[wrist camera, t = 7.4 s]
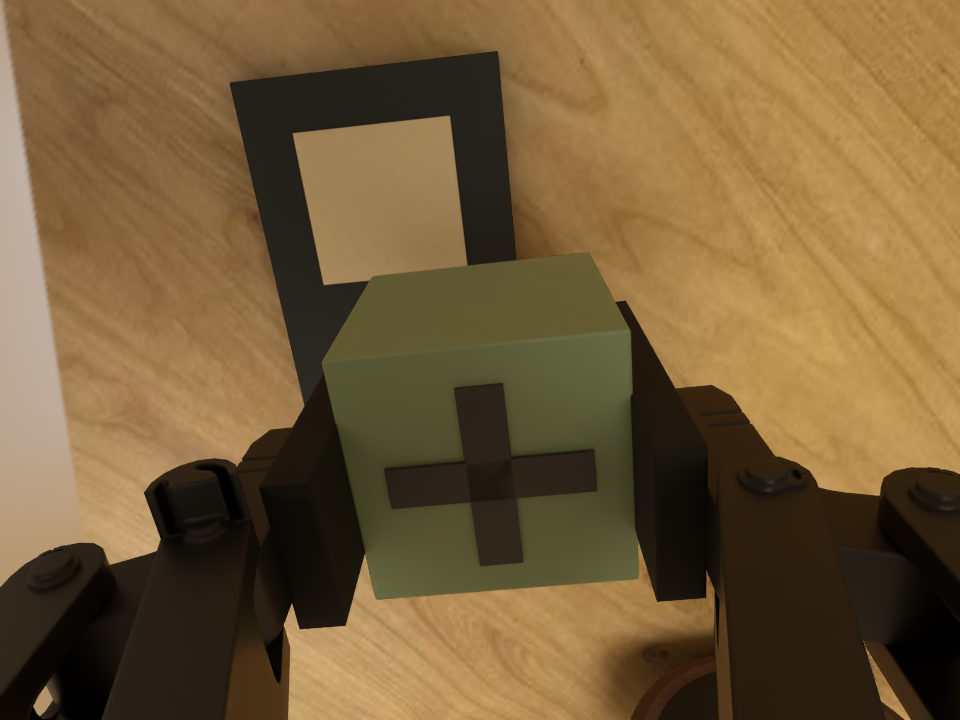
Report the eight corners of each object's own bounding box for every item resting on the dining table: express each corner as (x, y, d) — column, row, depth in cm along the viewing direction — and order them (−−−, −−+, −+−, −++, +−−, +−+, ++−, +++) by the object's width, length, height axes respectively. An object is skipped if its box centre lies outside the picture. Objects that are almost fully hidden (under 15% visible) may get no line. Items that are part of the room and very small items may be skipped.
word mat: (236, 82, 26) (227, 82, 25) (497, 51, 25) (498, 51, 25) (335, 515, 34) (331, 526, 33) (537, 499, 33) (538, 510, 32)
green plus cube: (371, 275, 16) (318, 363, 11) (589, 251, 15) (632, 331, 11) (406, 462, 18) (374, 605, 13) (601, 444, 17) (640, 584, 13)
